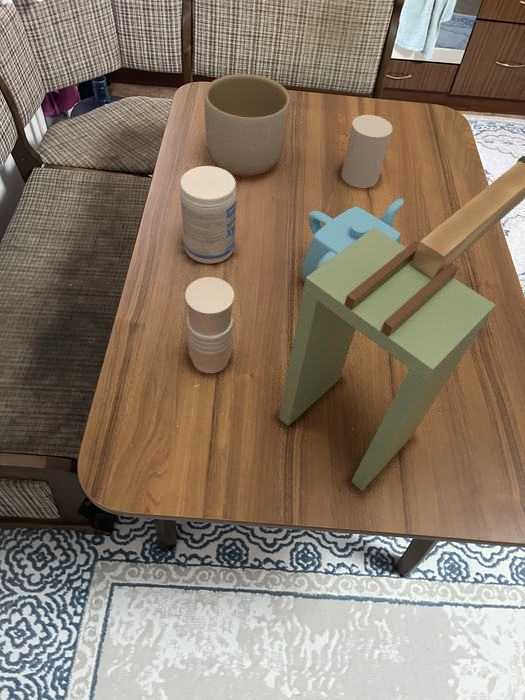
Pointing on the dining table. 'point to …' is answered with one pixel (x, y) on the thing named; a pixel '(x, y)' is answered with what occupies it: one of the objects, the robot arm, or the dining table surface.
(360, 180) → the white cylinder
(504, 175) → the slide bar
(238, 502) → the dining table surface
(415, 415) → the shelf stand
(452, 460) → the dining table surface
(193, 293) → the candle
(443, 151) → the dining table surface
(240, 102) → the planter
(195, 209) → the supplement tub
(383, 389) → the dining table surface
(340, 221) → the teapot
